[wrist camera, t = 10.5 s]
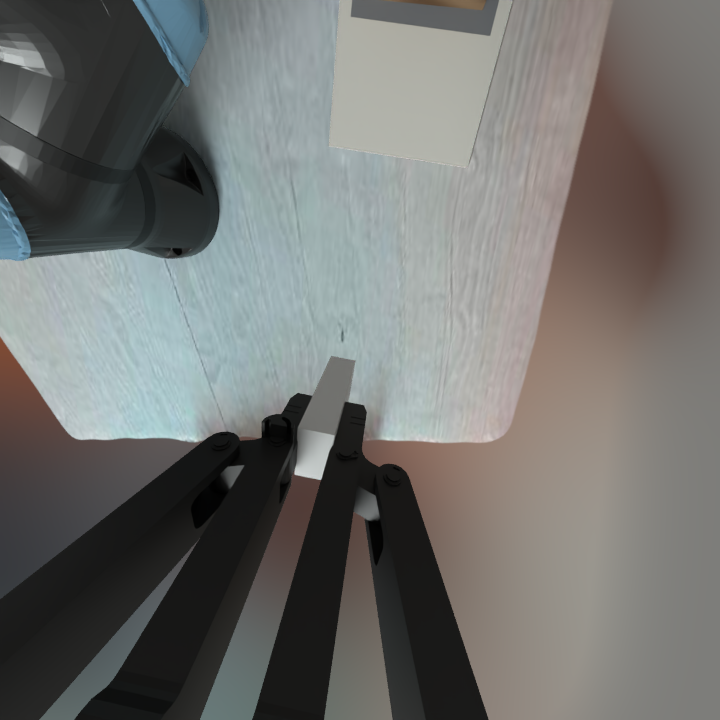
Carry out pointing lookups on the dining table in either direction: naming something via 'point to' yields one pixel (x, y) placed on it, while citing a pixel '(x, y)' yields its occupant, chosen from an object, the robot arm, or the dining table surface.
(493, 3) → the mat
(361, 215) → the dining table surface
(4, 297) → the dining table surface
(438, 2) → the t block
